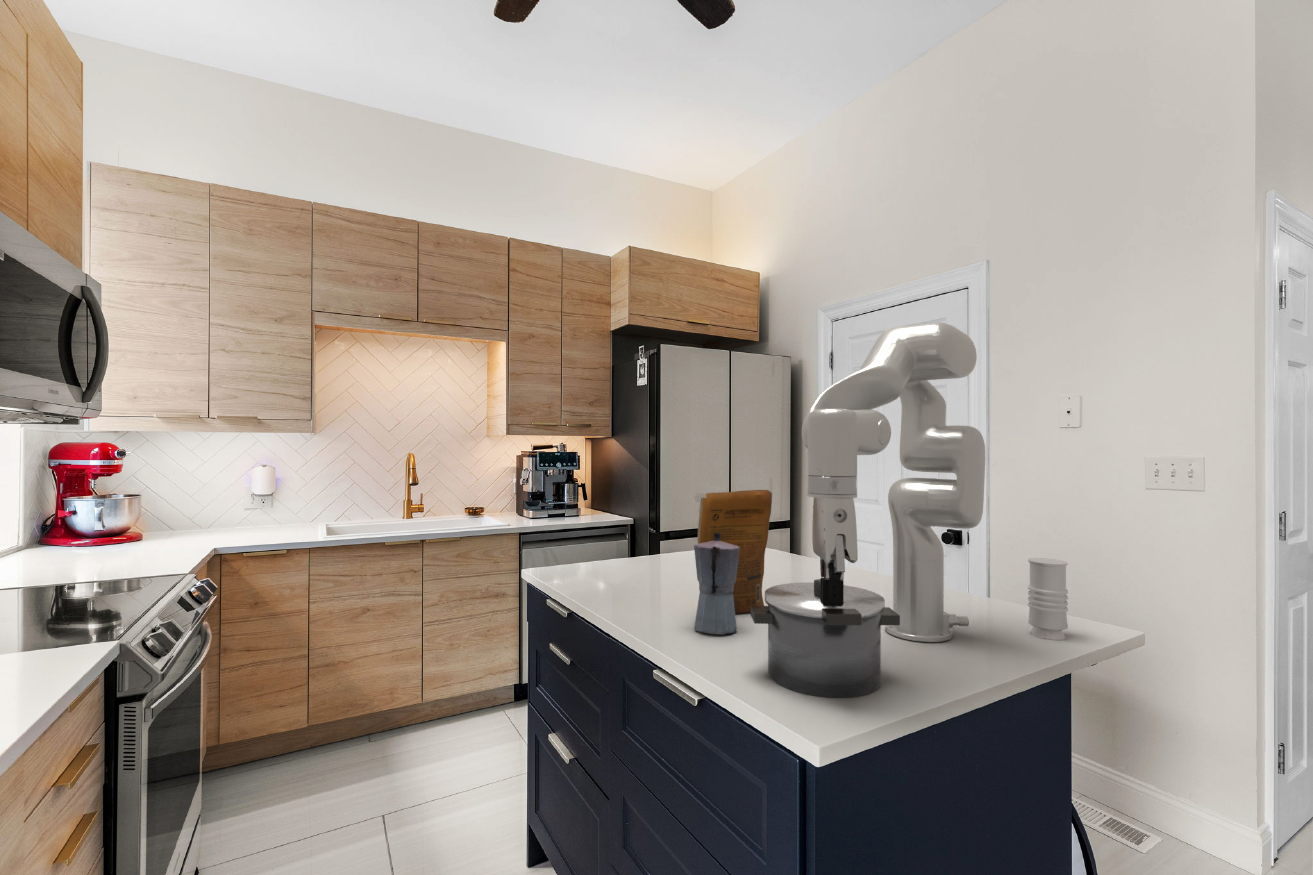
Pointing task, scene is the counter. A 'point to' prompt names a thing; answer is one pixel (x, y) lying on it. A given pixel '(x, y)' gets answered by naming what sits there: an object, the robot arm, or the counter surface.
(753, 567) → the pancake mix bag
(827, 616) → the lid
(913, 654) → the counter surface
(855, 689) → the cooker pot
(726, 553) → the moka pot
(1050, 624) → the grey ribbed canister
